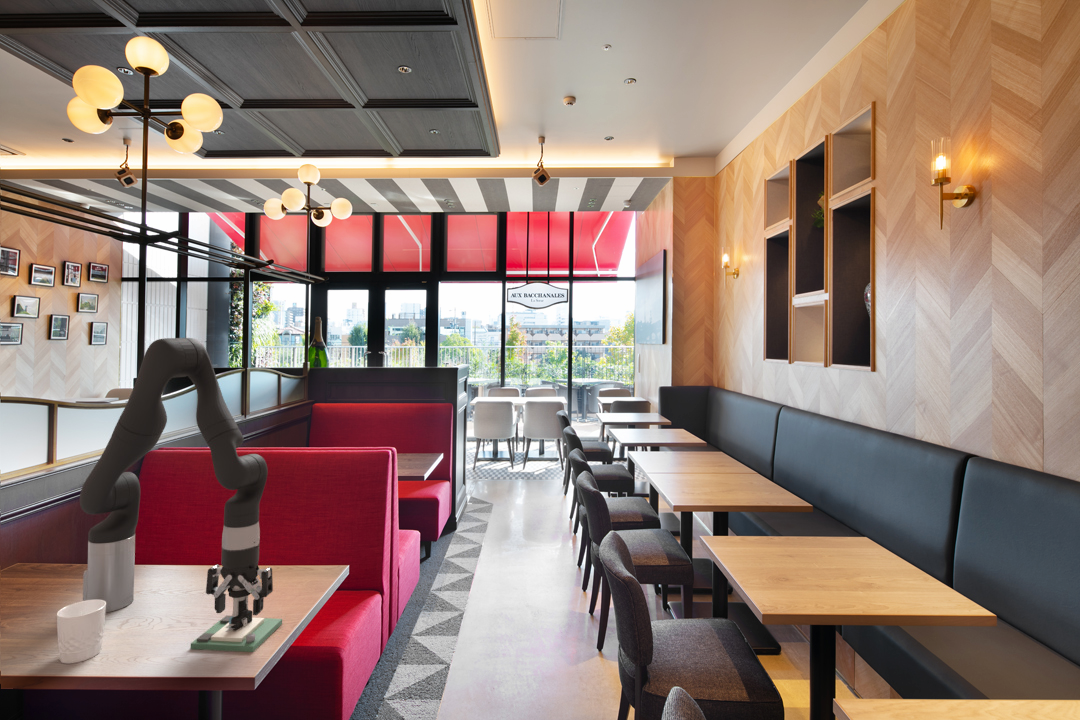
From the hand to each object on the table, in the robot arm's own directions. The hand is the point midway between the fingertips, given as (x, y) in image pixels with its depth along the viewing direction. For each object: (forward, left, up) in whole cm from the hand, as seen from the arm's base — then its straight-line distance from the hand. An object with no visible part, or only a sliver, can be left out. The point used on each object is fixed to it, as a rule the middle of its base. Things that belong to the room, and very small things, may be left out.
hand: (238, 612), depth 120 cm
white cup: (-28, -10, -6) cm, 30 cm away
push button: (0, 0, -4) cm, 4 cm away
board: (0, 0, -5) cm, 5 cm away
